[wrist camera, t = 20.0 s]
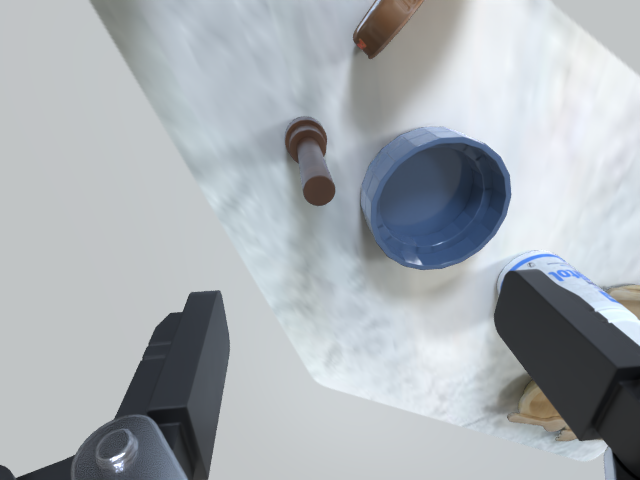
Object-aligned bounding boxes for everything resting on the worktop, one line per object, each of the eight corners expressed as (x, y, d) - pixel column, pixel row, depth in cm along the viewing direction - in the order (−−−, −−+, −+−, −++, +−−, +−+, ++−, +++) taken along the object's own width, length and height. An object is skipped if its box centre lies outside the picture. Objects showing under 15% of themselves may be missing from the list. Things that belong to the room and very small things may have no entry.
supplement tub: (569, 247, 50) (670, 316, 37) (547, 302, 54) (630, 381, 41) (503, 248, 49) (583, 319, 36) (485, 304, 53) (551, 386, 40)
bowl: (358, 248, 47) (367, 274, 41) (362, 128, 40) (374, 140, 34) (470, 241, 48) (494, 265, 43) (494, 123, 41) (526, 134, 35)
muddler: (286, 158, 40) (288, 222, 25) (283, 117, 38) (284, 160, 23) (325, 156, 41) (350, 218, 26) (324, 115, 39) (352, 157, 24)
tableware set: (620, 261, 52) (645, 277, 48) (740, 316, 60) (770, 333, 56) (478, 414, 66) (490, 435, 62) (591, 442, 73) (607, 462, 70)
